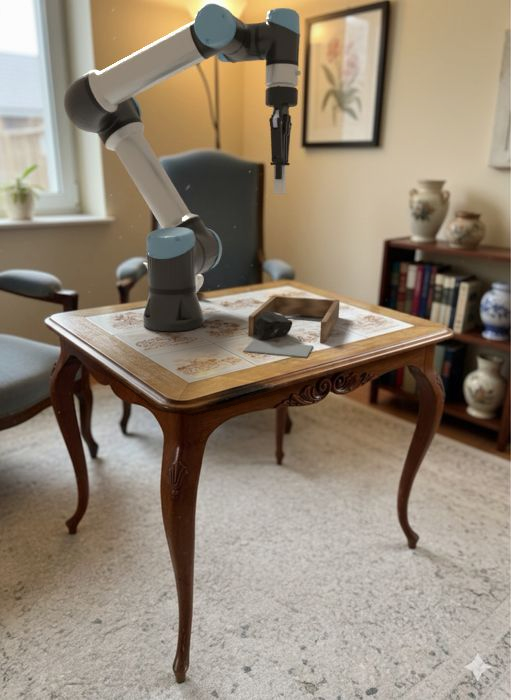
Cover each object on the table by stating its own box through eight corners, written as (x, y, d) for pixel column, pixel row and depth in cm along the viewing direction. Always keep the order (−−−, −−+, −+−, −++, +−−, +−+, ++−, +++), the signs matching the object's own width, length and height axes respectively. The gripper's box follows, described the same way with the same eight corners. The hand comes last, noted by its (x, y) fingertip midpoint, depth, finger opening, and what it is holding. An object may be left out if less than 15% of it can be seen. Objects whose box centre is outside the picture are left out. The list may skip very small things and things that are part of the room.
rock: (242, 319, 122) (268, 289, 126) (249, 344, 131) (273, 316, 135) (270, 334, 119) (295, 303, 123) (275, 359, 128) (298, 329, 132)
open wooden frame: (248, 336, 128) (248, 316, 127) (272, 313, 150) (273, 295, 149) (325, 343, 123) (326, 322, 122) (338, 318, 145) (339, 300, 144)
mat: (243, 351, 117) (243, 350, 117) (253, 341, 124) (253, 340, 124) (306, 357, 113) (306, 356, 113) (313, 346, 121) (313, 345, 121)
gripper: (291, 82, 117) (288, 194, 125) (303, 91, 129) (299, 193, 136) (258, 83, 119) (257, 194, 126) (272, 92, 131) (271, 192, 138)
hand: (279, 193), depth 131 cm, fingers closed
